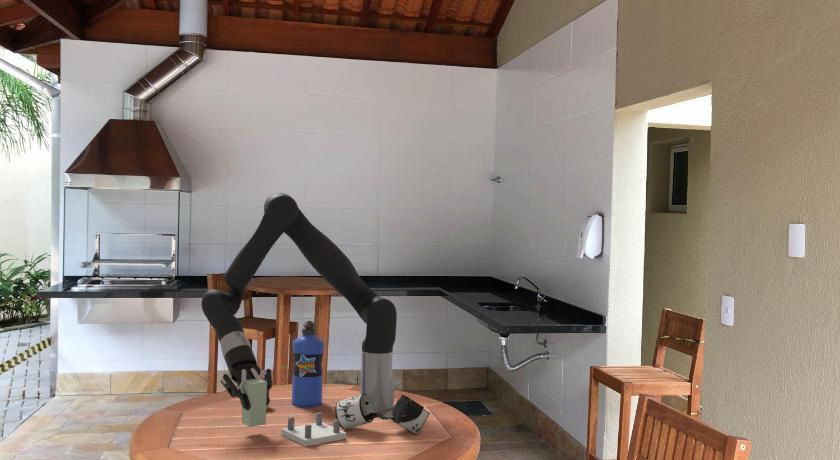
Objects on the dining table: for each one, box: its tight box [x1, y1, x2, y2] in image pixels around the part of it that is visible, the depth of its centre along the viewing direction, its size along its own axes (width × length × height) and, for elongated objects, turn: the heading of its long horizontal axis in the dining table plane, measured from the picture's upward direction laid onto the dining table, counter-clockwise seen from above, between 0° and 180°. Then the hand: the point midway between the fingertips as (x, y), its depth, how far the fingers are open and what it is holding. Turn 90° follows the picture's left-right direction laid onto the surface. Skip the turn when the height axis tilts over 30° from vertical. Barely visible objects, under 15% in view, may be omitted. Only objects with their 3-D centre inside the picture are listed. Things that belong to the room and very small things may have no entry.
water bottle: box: [291, 320, 325, 408], centre depth 222 cm, size 9×9×25 cm
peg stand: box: [280, 412, 347, 447], centre depth 189 cm, size 12×12×4 cm
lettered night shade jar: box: [334, 393, 431, 436], centre depth 196 cm, size 25×10×10 cm, turn 90°
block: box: [241, 378, 267, 428], centre depth 189 cm, size 4×4×11 cm
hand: (257, 406), depth 187 cm, fingers closed on block, 4 cm apart
